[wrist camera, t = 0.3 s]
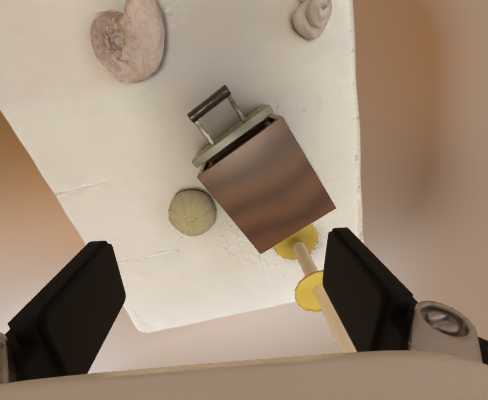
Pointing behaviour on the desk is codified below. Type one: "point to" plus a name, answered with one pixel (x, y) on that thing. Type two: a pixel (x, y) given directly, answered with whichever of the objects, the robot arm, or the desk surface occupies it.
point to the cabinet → (267, 185)
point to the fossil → (130, 40)
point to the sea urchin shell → (192, 212)
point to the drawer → (230, 134)
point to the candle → (313, 283)
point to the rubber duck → (312, 17)
